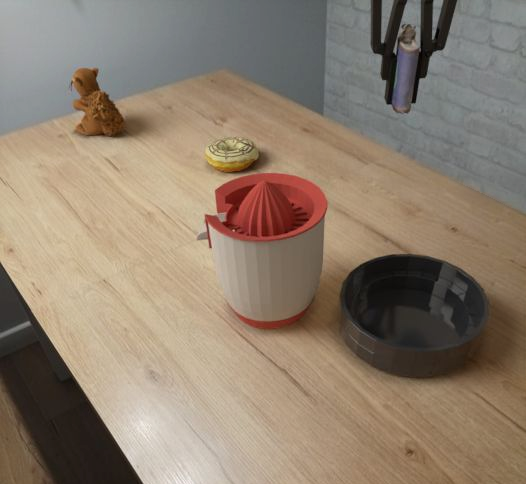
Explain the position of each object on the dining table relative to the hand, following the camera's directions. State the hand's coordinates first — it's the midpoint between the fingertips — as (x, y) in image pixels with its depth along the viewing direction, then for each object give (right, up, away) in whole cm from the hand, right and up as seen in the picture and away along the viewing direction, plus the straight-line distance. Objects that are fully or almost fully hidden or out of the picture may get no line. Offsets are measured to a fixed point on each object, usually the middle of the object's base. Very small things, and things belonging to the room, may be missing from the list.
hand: (399, 100), depth 81 cm
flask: (0, 0, 0) cm, 1 cm away
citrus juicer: (-21, -32, -3) cm, 39 cm away
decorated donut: (-28, 0, +27) cm, 39 cm away
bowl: (-1, -36, -8) cm, 37 cm away
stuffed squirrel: (-58, +12, +41) cm, 72 cm away
